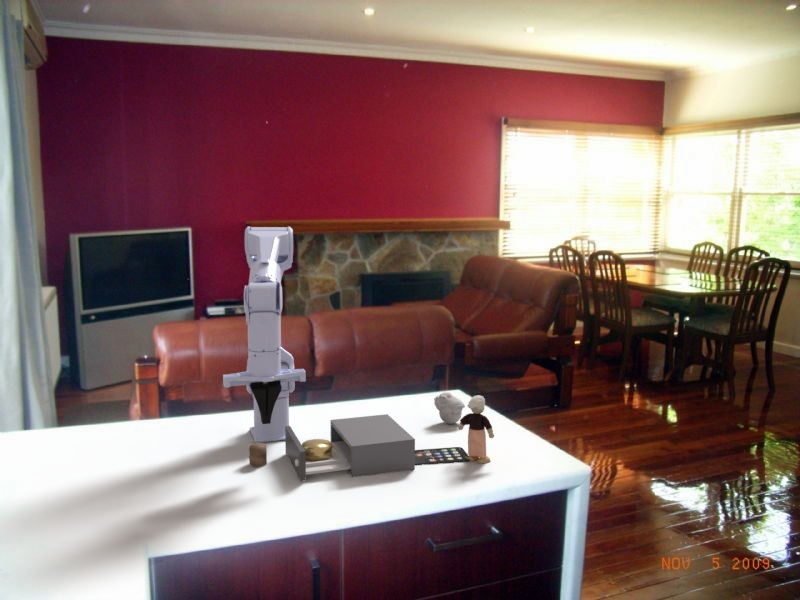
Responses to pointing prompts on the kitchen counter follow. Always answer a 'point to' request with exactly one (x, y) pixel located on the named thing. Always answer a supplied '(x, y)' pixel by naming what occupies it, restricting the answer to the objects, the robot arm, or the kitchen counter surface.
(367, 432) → the housing
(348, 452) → the tray
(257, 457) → the brown domed cylinder
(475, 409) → the grandmother figurine
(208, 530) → the kitchen counter surface
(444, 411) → the grey rounded lumpy piece
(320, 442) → the disc
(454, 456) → the smartphone
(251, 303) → the robot arm
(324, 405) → the kitchen counter surface
